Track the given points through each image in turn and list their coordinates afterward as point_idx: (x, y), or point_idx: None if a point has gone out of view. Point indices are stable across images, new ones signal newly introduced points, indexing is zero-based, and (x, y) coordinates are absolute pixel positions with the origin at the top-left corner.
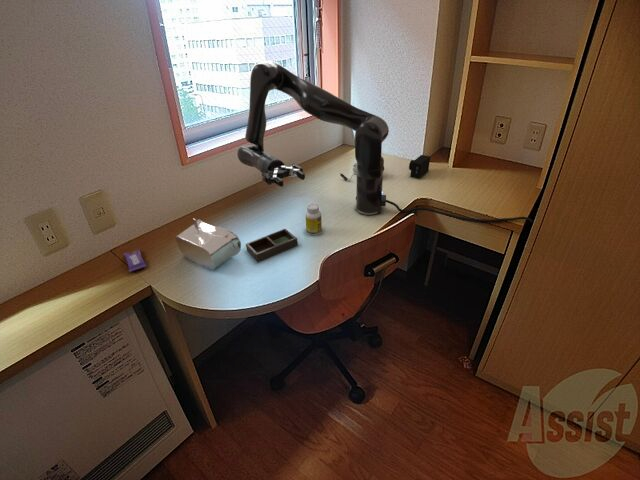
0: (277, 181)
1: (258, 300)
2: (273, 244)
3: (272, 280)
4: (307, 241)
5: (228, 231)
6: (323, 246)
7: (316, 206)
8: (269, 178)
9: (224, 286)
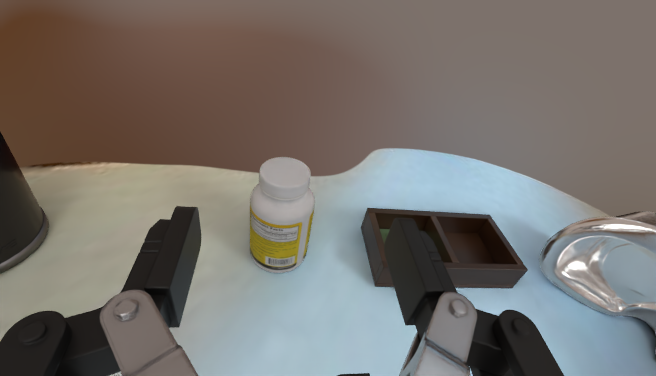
0: (435, 246)
1: (477, 164)
2: (439, 225)
3: (448, 180)
4: (326, 227)
5: (614, 217)
6: None
7: (274, 164)
8: (511, 312)
9: (547, 214)
